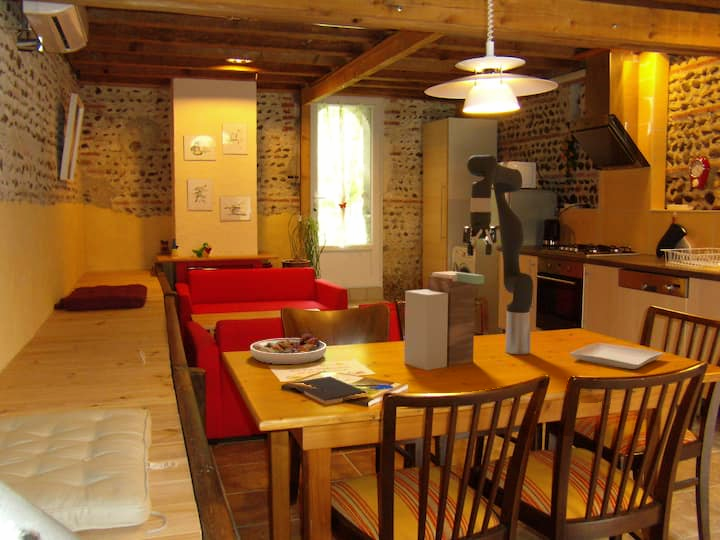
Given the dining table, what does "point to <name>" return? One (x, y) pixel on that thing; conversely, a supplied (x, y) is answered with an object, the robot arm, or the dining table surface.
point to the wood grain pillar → (457, 318)
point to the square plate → (616, 355)
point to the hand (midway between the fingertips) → (479, 255)
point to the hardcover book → (329, 390)
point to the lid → (461, 277)
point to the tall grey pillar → (426, 329)
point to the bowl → (288, 350)
